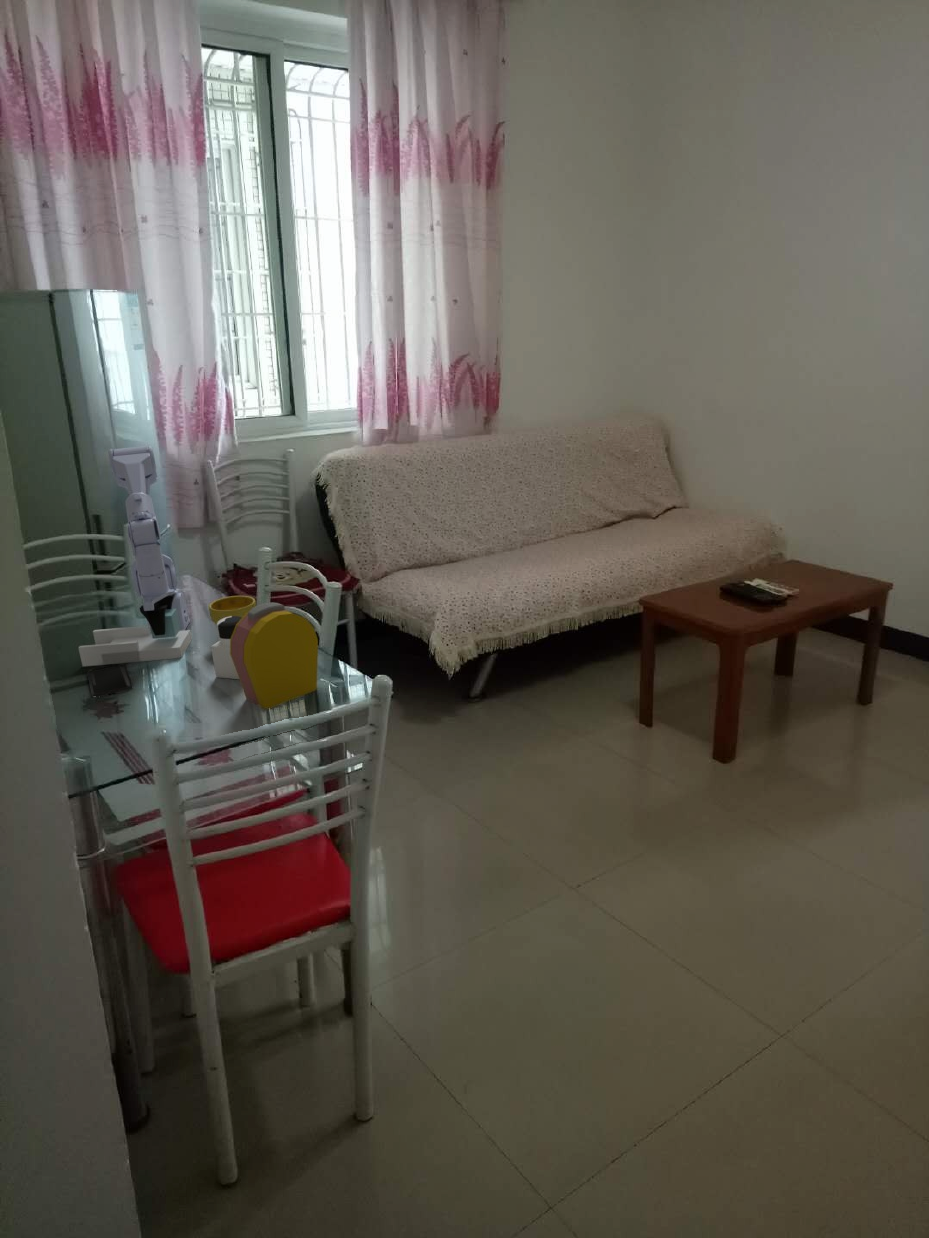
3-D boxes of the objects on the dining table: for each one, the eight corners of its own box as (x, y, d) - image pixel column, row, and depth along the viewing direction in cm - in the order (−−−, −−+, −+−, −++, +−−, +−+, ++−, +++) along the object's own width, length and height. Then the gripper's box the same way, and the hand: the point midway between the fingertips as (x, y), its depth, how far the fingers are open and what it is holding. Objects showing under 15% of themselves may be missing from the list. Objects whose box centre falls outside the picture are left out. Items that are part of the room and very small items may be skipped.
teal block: (180, 628, 194) (176, 608, 192) (175, 636, 189) (171, 615, 188) (158, 630, 194) (154, 610, 192) (152, 638, 189) (148, 617, 187)
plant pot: (263, 646, 192) (257, 605, 188) (216, 654, 189) (209, 613, 185) (259, 631, 201) (253, 592, 197) (214, 638, 198) (207, 599, 195)
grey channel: (191, 639, 198) (188, 621, 197) (181, 657, 188) (178, 638, 186) (98, 648, 197) (94, 630, 195) (82, 666, 186) (78, 647, 185)
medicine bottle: (263, 666, 180) (255, 614, 176) (244, 680, 174) (235, 626, 170) (234, 664, 182) (226, 612, 178) (215, 677, 176) (206, 624, 172)
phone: (124, 662, 185) (132, 686, 173) (125, 667, 186) (133, 691, 173) (86, 670, 182) (91, 695, 169) (87, 675, 182) (92, 700, 170)
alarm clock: (301, 676, 174) (289, 592, 168) (323, 686, 169) (312, 600, 162) (236, 700, 165) (221, 612, 159) (258, 712, 159) (243, 621, 153)
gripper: (162, 581, 180) (173, 640, 185) (177, 562, 193) (187, 617, 198) (128, 584, 179) (140, 643, 184) (146, 564, 193) (157, 620, 198)
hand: (163, 630), depth 191 cm, fingers closed on teal block, 5 cm apart
